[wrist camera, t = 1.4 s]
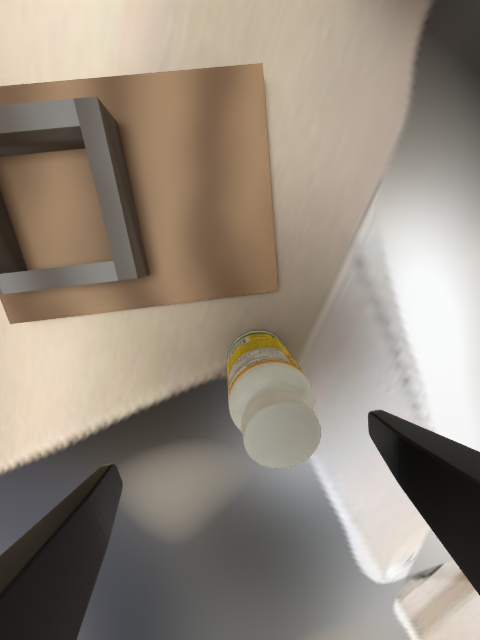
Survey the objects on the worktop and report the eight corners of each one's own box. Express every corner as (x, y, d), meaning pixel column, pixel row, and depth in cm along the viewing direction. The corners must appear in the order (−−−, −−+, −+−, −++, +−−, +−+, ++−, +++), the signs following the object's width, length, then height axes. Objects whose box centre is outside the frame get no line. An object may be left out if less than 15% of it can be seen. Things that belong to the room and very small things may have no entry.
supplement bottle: (226, 329, 20) (229, 391, 11) (288, 328, 21) (341, 387, 11) (226, 385, 22) (229, 482, 12) (284, 384, 22) (329, 477, 13)
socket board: (258, 80, 16) (270, 24, 12) (274, 288, 20) (286, 296, 16) (-51, 108, 15) (-144, 58, 11) (26, 318, 19) (-25, 334, 15)
